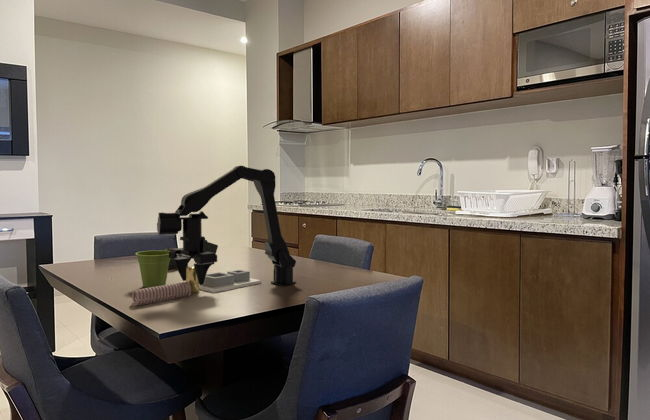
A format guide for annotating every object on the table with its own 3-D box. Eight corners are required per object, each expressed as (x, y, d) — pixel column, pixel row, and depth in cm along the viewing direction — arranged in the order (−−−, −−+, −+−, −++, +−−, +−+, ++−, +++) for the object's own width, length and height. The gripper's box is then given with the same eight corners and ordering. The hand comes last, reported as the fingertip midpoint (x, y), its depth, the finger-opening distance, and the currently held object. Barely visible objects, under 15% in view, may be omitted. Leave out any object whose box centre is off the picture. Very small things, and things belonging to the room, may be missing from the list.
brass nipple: (201, 292, 155) (201, 267, 154) (190, 294, 152) (190, 268, 151) (194, 290, 157) (194, 265, 157) (183, 292, 154) (183, 267, 154)
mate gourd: (183, 267, 202) (183, 242, 201) (178, 270, 194) (178, 245, 194) (165, 267, 201) (165, 243, 201) (160, 270, 194) (159, 245, 193)
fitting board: (261, 283, 169) (260, 271, 169) (212, 292, 154) (212, 280, 154) (239, 278, 177) (239, 267, 177) (191, 287, 162) (191, 275, 162)
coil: (185, 281, 152) (128, 289, 139) (193, 281, 149) (135, 290, 136) (186, 296, 152) (129, 306, 139) (194, 296, 149) (136, 307, 136)
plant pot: (134, 290, 157) (133, 255, 156) (137, 283, 168) (137, 250, 168) (172, 288, 160) (172, 254, 159) (173, 281, 171) (173, 249, 171)
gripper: (231, 233, 153) (231, 282, 154) (197, 229, 166) (197, 275, 166) (201, 236, 145) (201, 288, 146) (167, 232, 157) (168, 280, 158)
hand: (192, 282), depth 154 cm, fingers open, 9 cm apart
